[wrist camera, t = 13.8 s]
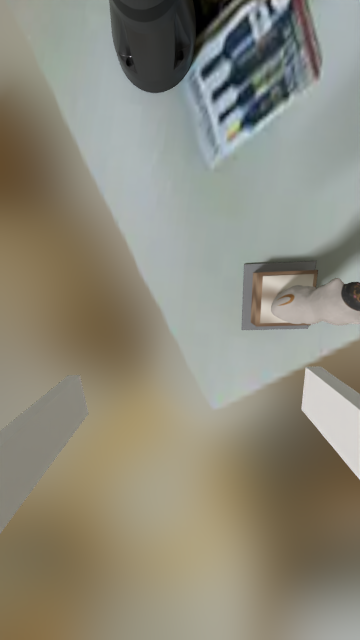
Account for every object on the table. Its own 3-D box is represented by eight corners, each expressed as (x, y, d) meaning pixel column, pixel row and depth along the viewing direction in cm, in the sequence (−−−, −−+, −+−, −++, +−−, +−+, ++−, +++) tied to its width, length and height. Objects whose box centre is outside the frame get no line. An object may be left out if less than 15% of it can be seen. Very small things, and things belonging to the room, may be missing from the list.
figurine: (314, 312, 40) (386, 333, 25) (268, 323, 41) (311, 349, 26) (309, 272, 38) (384, 270, 24) (261, 285, 39) (303, 291, 25)
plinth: (253, 272, 43) (259, 272, 39) (306, 270, 42) (318, 269, 38) (250, 322, 45) (256, 326, 41) (300, 320, 45) (311, 325, 41)
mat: (244, 264, 43) (244, 264, 42) (315, 261, 42) (316, 260, 41) (241, 329, 46) (242, 330, 46) (306, 328, 45) (307, 328, 45)
